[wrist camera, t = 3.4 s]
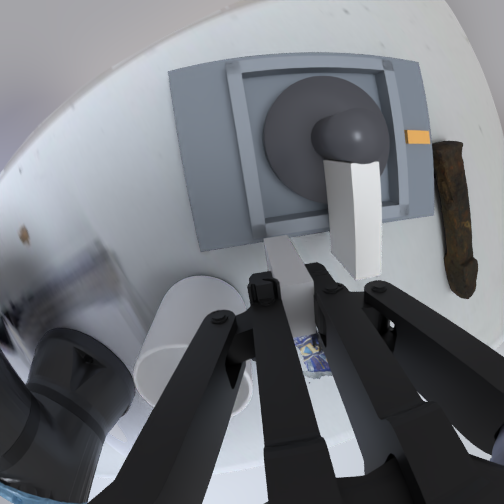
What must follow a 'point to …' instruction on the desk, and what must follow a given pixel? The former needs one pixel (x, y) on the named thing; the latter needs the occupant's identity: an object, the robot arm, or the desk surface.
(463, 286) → the dark brown lumpy bar
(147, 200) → the desk surface
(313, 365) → the snack package
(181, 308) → the mug
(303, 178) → the dial
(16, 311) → the desk surface
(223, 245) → the panel
